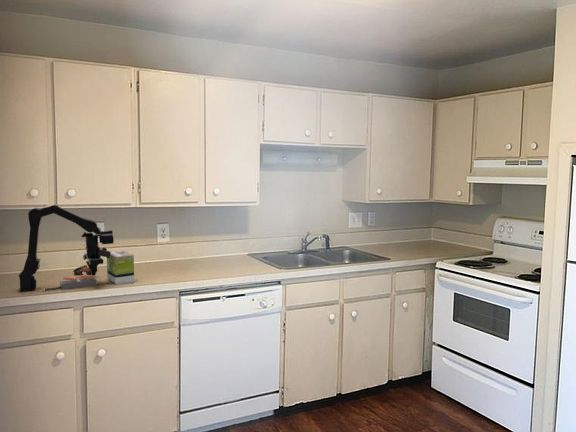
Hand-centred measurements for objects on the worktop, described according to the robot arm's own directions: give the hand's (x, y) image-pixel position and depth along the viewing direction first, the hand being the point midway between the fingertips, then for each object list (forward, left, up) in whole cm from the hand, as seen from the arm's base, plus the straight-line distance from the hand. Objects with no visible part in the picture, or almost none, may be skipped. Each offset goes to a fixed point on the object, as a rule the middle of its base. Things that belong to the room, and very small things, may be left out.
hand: (94, 275), depth 239 cm
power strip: (-11, 0, -5) cm, 12 cm away
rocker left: (-11, 0, -1) cm, 12 cm away
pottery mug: (-1, +17, -5) cm, 18 cm away
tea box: (+14, +2, -5) cm, 15 cm away
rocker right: (-3, 0, -1) cm, 4 cm away
